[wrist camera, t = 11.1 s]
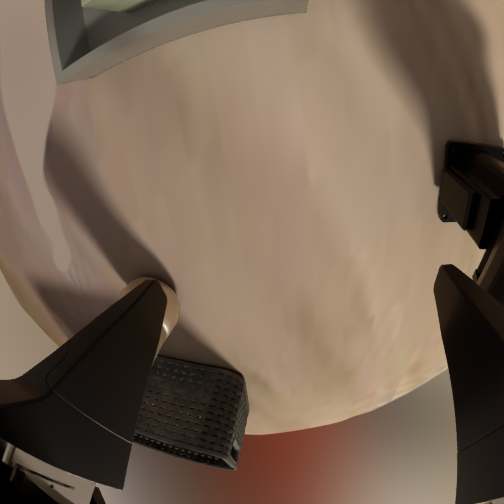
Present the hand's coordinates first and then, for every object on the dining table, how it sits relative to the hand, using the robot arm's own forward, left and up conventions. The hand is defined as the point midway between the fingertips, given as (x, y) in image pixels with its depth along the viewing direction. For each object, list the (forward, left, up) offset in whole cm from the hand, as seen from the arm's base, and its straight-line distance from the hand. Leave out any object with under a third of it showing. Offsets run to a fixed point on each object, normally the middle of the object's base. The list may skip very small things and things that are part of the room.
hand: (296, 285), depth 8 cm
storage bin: (+25, +35, -12) cm, 45 cm away
